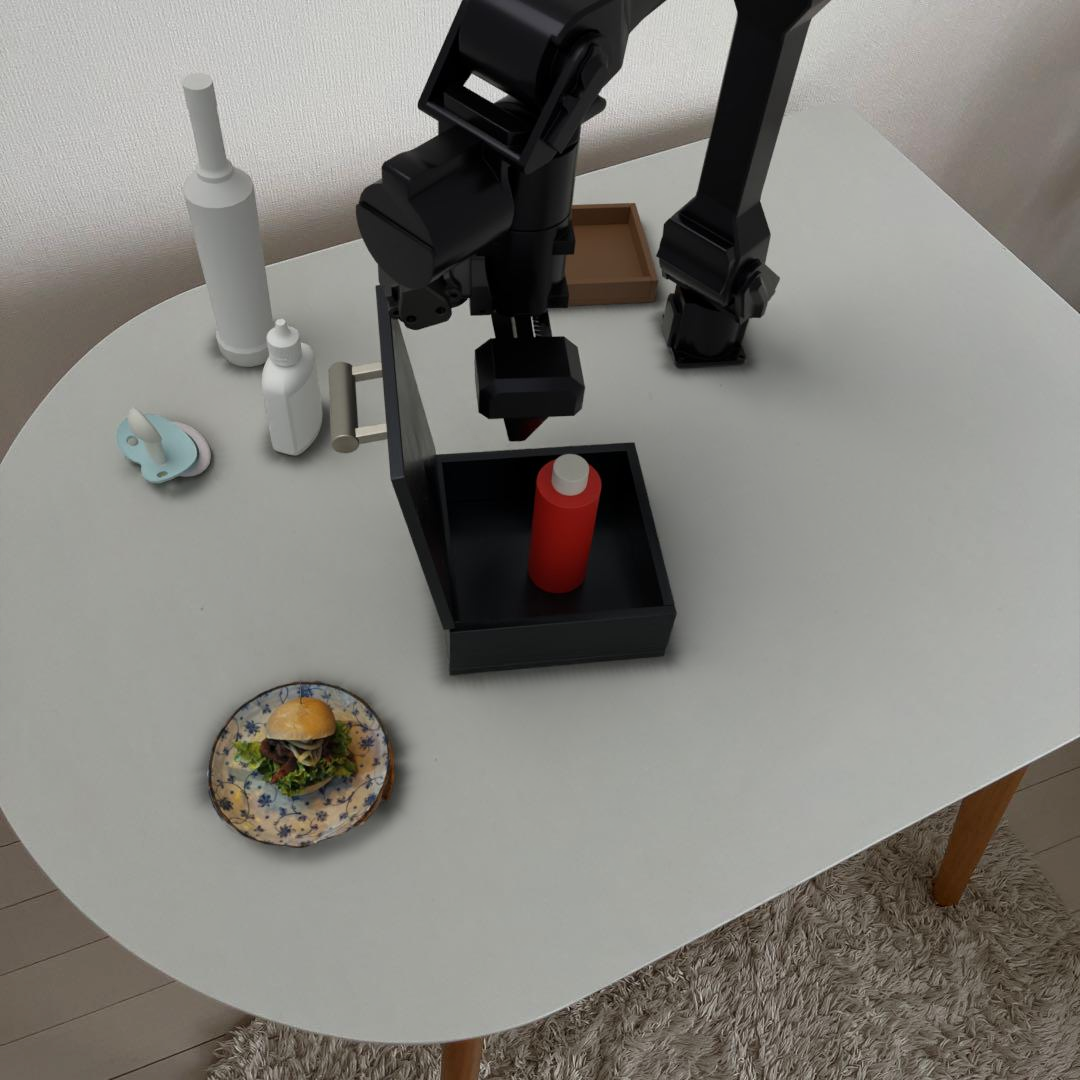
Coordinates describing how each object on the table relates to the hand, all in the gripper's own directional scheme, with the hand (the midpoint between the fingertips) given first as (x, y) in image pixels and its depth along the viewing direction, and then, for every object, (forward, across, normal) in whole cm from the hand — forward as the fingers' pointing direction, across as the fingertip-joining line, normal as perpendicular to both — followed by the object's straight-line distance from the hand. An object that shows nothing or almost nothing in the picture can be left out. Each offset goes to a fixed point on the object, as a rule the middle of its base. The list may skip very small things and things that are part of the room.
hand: (510, 389), depth 77 cm
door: (-1, +7, -6) cm, 9 cm away
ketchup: (+13, +6, +4) cm, 15 cm away
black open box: (+14, +6, +2) cm, 15 cm away
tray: (+14, -29, +10) cm, 33 cm away
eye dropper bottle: (+14, -9, -16) cm, 23 cm away
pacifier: (+14, -7, -26) cm, 30 cm away
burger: (+14, +21, -15) cm, 29 cm away
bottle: (+14, -19, -20) cm, 31 cm away
